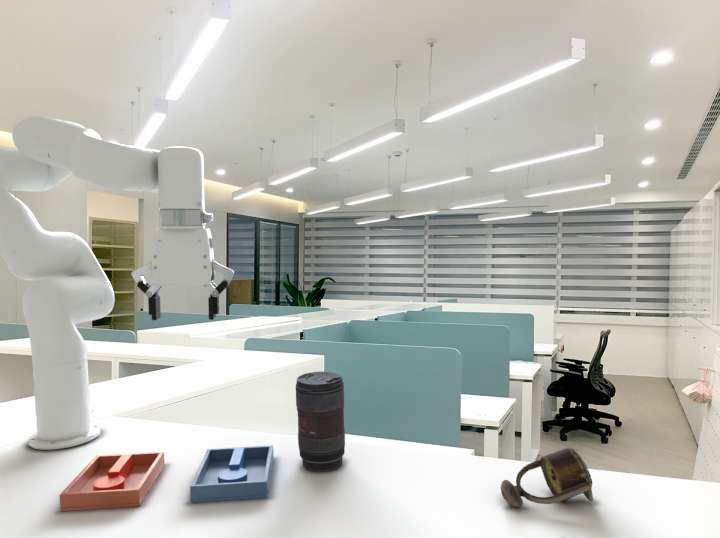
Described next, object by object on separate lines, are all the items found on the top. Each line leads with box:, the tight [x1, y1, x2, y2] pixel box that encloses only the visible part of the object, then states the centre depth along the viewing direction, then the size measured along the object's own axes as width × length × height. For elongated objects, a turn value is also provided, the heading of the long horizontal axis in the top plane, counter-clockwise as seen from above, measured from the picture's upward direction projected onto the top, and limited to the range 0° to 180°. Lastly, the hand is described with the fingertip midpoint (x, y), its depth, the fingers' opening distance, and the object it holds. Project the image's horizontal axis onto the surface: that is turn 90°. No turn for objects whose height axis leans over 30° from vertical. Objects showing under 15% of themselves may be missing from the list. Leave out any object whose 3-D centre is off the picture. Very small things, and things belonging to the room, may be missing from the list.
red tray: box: [59, 451, 166, 512], centre depth 92 cm, size 15×11×2 cm
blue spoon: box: [218, 447, 247, 483], centre depth 93 cm, size 11×4×3 cm, turn 5°
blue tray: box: [189, 444, 275, 504], centre depth 94 cm, size 15×11×2 cm
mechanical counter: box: [500, 446, 594, 508], centre depth 84 cm, size 7×13×10 cm
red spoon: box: [93, 455, 133, 491], centre depth 92 cm, size 11×4×3 cm, turn 5°
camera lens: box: [295, 371, 346, 472], centre depth 98 cm, size 8×8×15 cm
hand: (184, 318), depth 102 cm, fingers open, 9 cm apart
